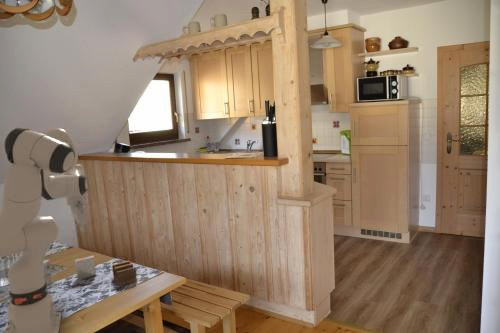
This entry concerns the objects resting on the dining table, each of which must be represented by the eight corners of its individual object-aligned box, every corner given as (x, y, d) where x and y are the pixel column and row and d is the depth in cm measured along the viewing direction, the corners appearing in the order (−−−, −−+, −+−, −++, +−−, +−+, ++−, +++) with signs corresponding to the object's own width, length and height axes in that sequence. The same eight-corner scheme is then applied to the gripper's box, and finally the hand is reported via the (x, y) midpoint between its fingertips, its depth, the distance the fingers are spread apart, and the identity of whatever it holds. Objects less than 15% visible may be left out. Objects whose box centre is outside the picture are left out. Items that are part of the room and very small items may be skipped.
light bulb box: (40, 281, 187) (36, 259, 185) (52, 282, 186) (49, 259, 184) (22, 292, 177) (19, 268, 175) (36, 293, 176) (32, 269, 174)
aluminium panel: (96, 275, 191) (94, 257, 189) (77, 280, 187) (75, 261, 185) (95, 273, 193) (93, 255, 191) (77, 278, 189) (74, 259, 187)
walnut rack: (136, 280, 183) (135, 266, 182) (118, 285, 179) (117, 271, 178) (131, 273, 191) (129, 260, 190) (113, 278, 187) (112, 264, 186)
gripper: (89, 202, 177) (92, 233, 179) (81, 194, 194) (84, 222, 196) (73, 205, 173) (77, 236, 176) (66, 196, 191) (70, 225, 193)
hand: (81, 229), depth 186 cm, fingers open, 8 cm apart
